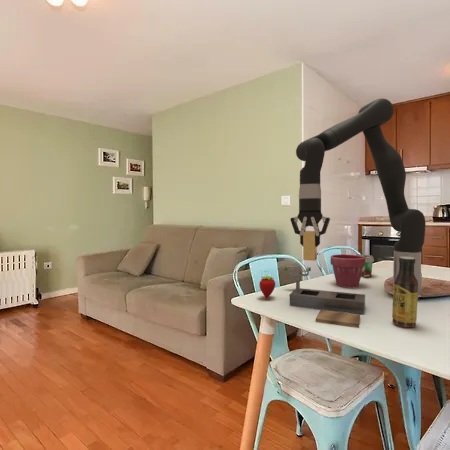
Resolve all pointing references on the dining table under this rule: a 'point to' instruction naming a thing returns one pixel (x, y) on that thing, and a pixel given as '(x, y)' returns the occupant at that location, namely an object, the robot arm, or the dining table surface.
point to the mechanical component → (297, 273)
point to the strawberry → (267, 286)
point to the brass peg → (309, 246)
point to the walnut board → (338, 318)
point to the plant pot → (347, 269)
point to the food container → (367, 266)
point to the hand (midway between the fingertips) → (310, 246)
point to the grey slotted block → (328, 300)
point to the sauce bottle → (405, 294)
